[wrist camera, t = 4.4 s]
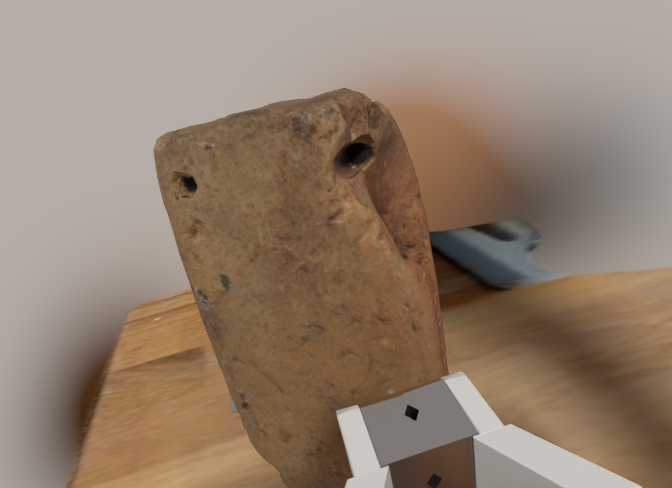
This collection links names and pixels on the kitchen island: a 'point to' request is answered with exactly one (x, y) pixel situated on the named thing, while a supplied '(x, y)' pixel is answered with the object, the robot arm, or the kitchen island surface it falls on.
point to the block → (306, 268)
